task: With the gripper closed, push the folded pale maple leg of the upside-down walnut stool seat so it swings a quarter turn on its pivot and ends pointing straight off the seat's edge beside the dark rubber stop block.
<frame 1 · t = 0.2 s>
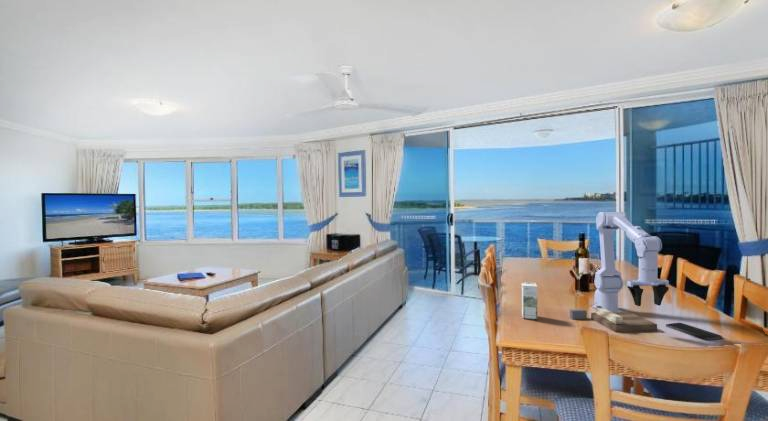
hand: (647, 305, 134), 10 cm above the table, tool pointing down, fingers open, 7 cm apart
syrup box: (529, 317, 152), on the table
folding leg: (607, 314, 142), point 4 cm above the table, hinge at 0.0°
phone: (692, 333, 133), on the table
stool seat: (622, 324, 142), on the table
stop block: (578, 318, 150), on the table
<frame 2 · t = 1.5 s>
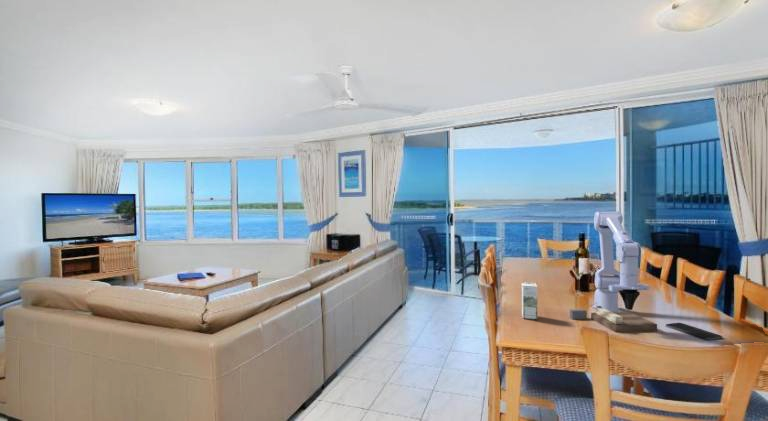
hand: (628, 309, 138), 7 cm above the table, tool pointing down, fingers closed
nothing on the table moved.
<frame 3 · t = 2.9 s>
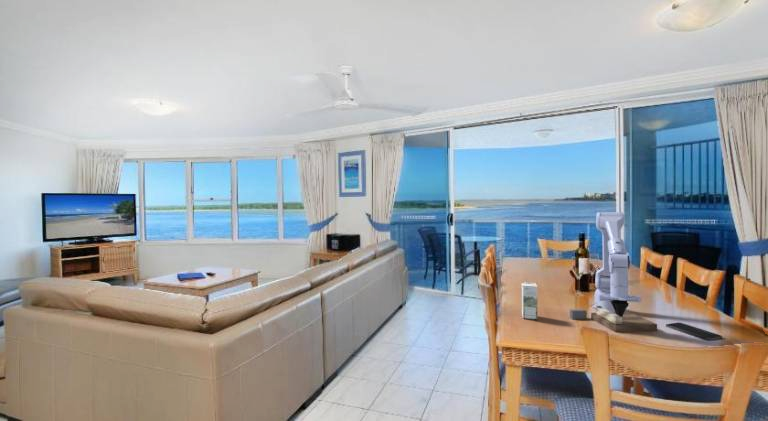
hand: (619, 319, 138), 3 cm above the table, tool pointing down, fingers closed
folding leg: (607, 314, 142), point 4 cm above the table, hinge at -0.8°, touching gripper
everything else where it was.
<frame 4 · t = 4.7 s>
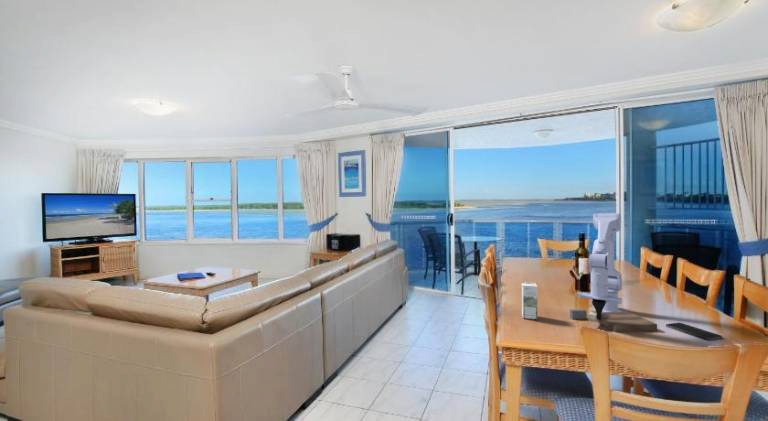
hand: (599, 319, 139), 3 cm above the table, tool pointing down, fingers closed
folding leg: (595, 313, 143), point 4 cm above the table, hinge at -43.9°, touching gripper
everything else where it was.
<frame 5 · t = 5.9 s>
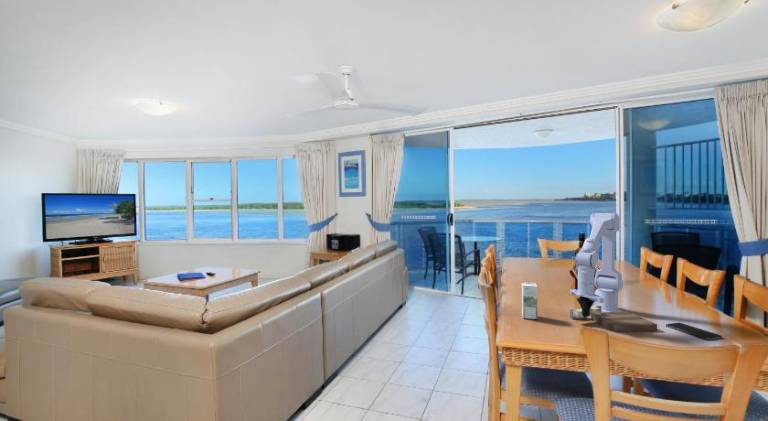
hand: (585, 316, 143), 3 cm above the table, tool pointing down, fingers closed
folding leg: (588, 311, 146), point 4 cm above the table, hinge at -73.7°, touching gripper
everything else where it was.
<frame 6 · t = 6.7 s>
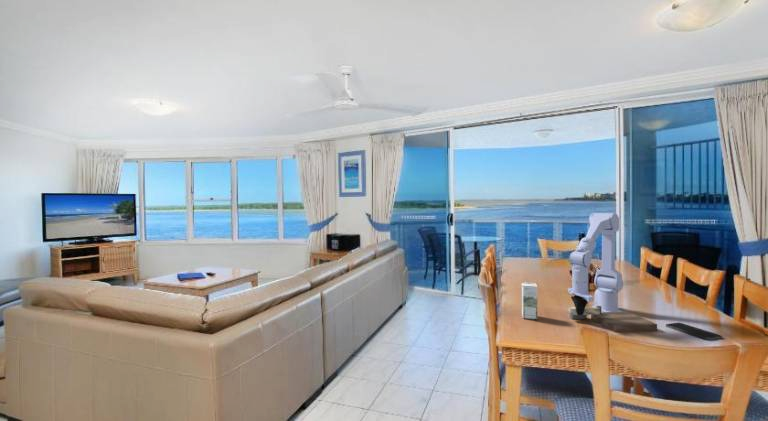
hand: (580, 314, 145), 3 cm above the table, tool pointing down, fingers closed
folding leg: (584, 310, 147), point 4 cm above the table, hinge at -91.7°, touching gripper
everything else where it was.
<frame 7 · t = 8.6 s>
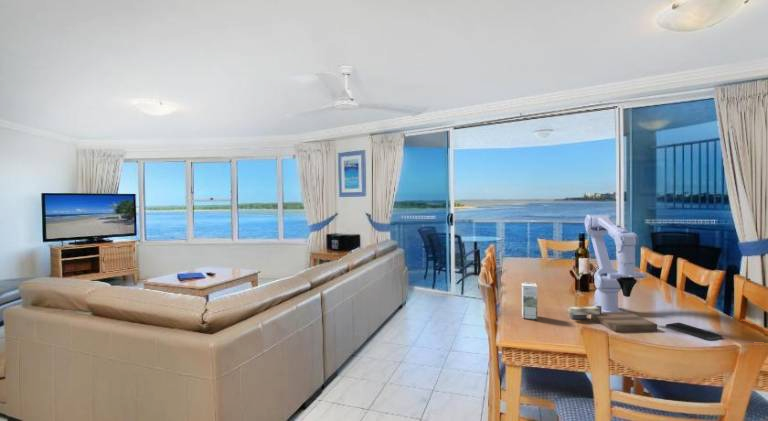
hand: (626, 296, 145), 10 cm above the table, tool pointing down, fingers closed
folding leg: (584, 310, 147), point 4 cm above the table, hinge at -91.7°
everything else where it was.
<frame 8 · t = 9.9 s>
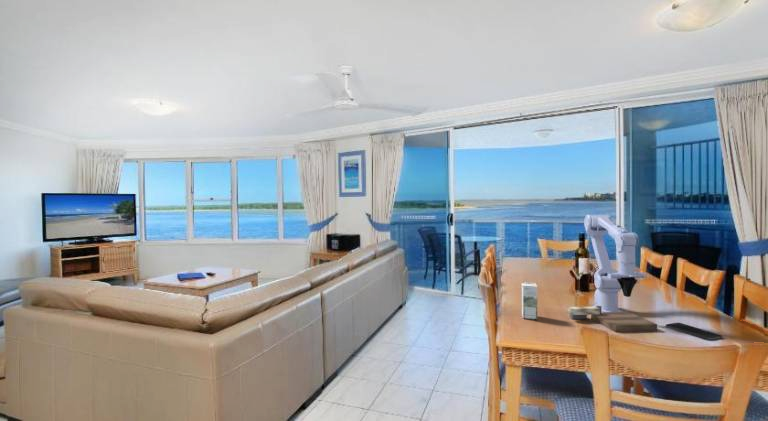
hand: (626, 296, 145), 10 cm above the table, tool pointing down, fingers closed
nothing on the table moved.
at the end: folding leg at -92° (first picture: +0°); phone moved 0.6 cm from its start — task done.
